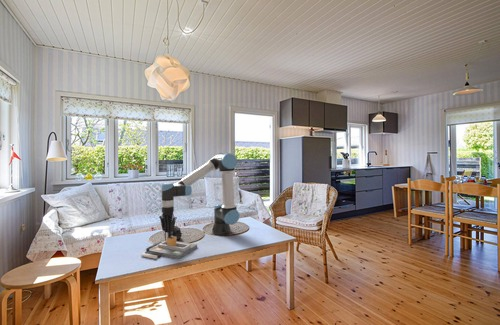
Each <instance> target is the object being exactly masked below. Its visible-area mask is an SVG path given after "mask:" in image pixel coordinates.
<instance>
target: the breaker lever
mask: <svg viewBox="0 0 500 325" xmlns="http://www.w3.org/2000/svg"><path fill="white" fill-rule="evenodd" d="M177 241H178V239H176V237H175V236H170V237H169V238H167V245H170V246H177Z"/></svg>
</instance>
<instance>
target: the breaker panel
mask: <svg viewBox="0 0 500 325" xmlns="http://www.w3.org/2000/svg"><path fill="white" fill-rule="evenodd" d="M161 242H162V243H160V244H158V247H156V248H154V249H152V250H150V251H149V252H152V253H157V254H160V255H161V256H160V257H165V258H171V259H175V260H176V259H177V260H179V259H181V258H183V257H184V256H186V255H187V254H189V253H190V252H192V251H194V250H196V249H197V248H198V244H197V243H191V242H184V241H178V240H177V246H170V245H167V242H166V241H165V240H164V241H161Z"/></svg>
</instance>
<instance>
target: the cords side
mask: <svg viewBox="0 0 500 325" xmlns="http://www.w3.org/2000/svg"><path fill="white" fill-rule="evenodd" d="M162 242H163V241H159V242H157V243H155V244H153V245H151V246H148V247H146V249H145V252H150V250H152V249H154V248H156V247H158V244H160V243H162Z"/></svg>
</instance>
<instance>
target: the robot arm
mask: <svg viewBox="0 0 500 325" xmlns="http://www.w3.org/2000/svg"><path fill="white" fill-rule="evenodd" d="M237 164H238V159H237V157H236V155H234V154H233V153H230V152H226V153H225V152H224V153H222V152H220V153H218V154H216V155H214V156H213V157H210V159H208V160H207V162H206V163H204V164H203V165H201V166H200V167H199V168H197V169H196V170H194V171H192V172H191V173H189V174H188V175H187V176H184V177H183V178H182V179H181V180H179V181H177V182H174V183H173V182H164V183H162V185H161V206H162V207H161V213H162V214H161V215H159V220H160V224H161V230H162V231H164V234H165V235H164V237H165V236H166V242H167V238H169V237H170V236H171V231H173V230H174V226H176V220H177V219H178V217H177V216H175V215H174V212H175V211H174V210H175V209H174V208H175V206H174V205H175V203H174V202H175V199H174V198H177V197H188V196H191V195H192V193H193V190H192V185H194V184H196V183H197V182H198V181H199V180H201V179H203V178H204V177H206V176H208V174H210V173H211V172H215V171H217V170H219V173H220V174H221V187H222V204H221V203H219V204H215V205H214V206H213V207H214V208H213V213H214V214H213V216H214V217H213V218H214V219H213V221H214V222H213V226H212V230H211V232H212V234H213V235H215V236H224V235H225V236H227V235H230V234H231V233H230V232H232V231H231V230H232V229H231V226H232V225H235V224H237V222H238V221H239V220H240V212H239V211H238V208H237V205H236V203H235V189H234V187H235V186H234V172H235V170H236V169H235V168H236V166H237Z"/></svg>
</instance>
